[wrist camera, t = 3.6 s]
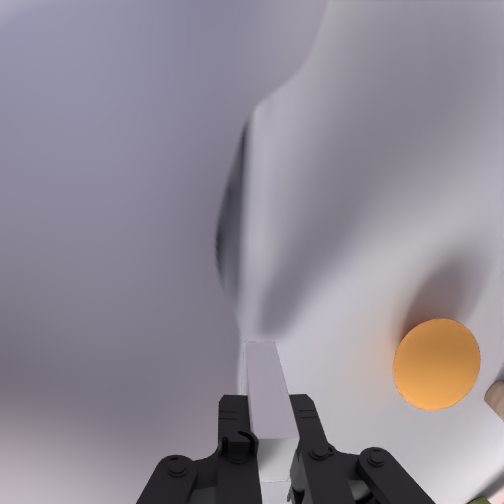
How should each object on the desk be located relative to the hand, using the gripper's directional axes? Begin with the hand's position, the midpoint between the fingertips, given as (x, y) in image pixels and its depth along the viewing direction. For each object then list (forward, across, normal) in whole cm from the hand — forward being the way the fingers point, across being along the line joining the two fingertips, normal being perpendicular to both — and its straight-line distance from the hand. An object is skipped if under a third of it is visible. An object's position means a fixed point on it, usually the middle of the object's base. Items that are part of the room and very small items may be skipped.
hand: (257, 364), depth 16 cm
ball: (-1, -10, 0) cm, 11 cm away
